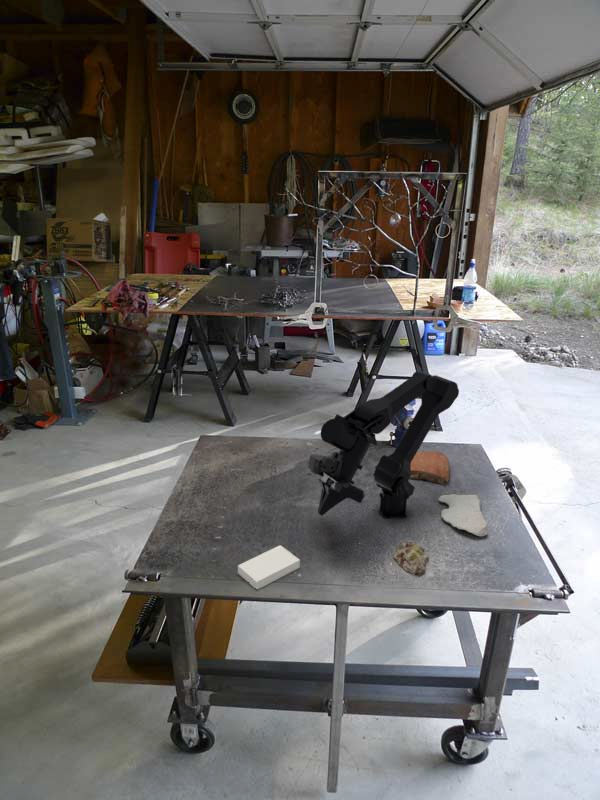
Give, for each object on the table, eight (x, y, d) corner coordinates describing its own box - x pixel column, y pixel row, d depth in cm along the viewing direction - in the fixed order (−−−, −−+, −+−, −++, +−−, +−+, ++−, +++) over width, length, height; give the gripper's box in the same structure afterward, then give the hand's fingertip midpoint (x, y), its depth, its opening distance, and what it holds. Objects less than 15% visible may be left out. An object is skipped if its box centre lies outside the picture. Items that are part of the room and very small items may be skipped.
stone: (475, 487, 165) (503, 524, 146) (474, 501, 166) (502, 539, 147) (429, 491, 164) (452, 528, 145) (429, 504, 165) (451, 543, 146)
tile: (280, 545, 139) (237, 565, 132) (299, 559, 134) (256, 581, 127) (280, 554, 140) (237, 574, 133) (299, 569, 135) (256, 591, 128)
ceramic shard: (401, 441, 185) (450, 453, 183) (396, 460, 187) (444, 472, 185) (400, 457, 171) (452, 470, 169) (394, 477, 173) (446, 491, 171)
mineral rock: (388, 540, 142) (420, 532, 142) (391, 554, 144) (423, 546, 144) (398, 570, 132) (434, 561, 132) (401, 585, 134) (436, 576, 134)
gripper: (309, 432, 146) (279, 488, 146) (339, 450, 129) (305, 515, 128) (345, 450, 150) (316, 505, 150) (379, 471, 133) (346, 533, 132)
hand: (319, 514), depth 140 cm, fingers closed
